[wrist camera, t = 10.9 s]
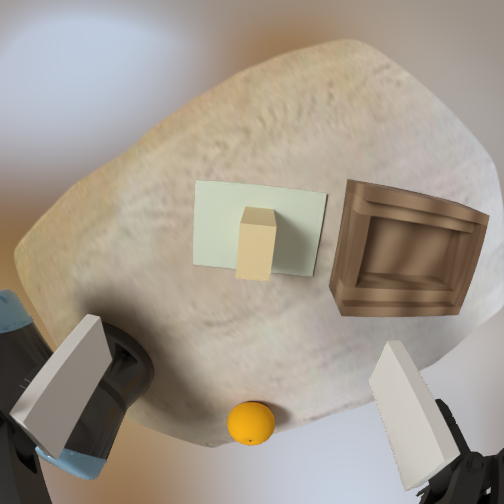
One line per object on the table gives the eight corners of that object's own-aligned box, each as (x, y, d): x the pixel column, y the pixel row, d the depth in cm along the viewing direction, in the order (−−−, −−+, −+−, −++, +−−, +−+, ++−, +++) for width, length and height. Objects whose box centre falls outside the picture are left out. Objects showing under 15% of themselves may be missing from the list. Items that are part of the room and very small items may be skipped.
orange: (227, 417, 43) (223, 450, 36) (230, 393, 40) (225, 429, 33) (270, 421, 43) (271, 453, 36) (278, 397, 40) (279, 433, 33)
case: (328, 286, 32) (341, 316, 26) (347, 179, 27) (369, 187, 21) (435, 291, 32) (457, 314, 26) (458, 202, 27) (489, 215, 21)
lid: (194, 261, 32) (176, 293, 25) (197, 179, 29) (176, 189, 21) (311, 273, 32) (323, 308, 25) (325, 192, 29) (345, 206, 21)
